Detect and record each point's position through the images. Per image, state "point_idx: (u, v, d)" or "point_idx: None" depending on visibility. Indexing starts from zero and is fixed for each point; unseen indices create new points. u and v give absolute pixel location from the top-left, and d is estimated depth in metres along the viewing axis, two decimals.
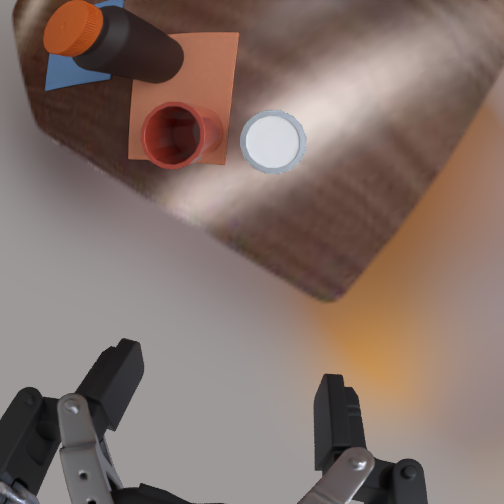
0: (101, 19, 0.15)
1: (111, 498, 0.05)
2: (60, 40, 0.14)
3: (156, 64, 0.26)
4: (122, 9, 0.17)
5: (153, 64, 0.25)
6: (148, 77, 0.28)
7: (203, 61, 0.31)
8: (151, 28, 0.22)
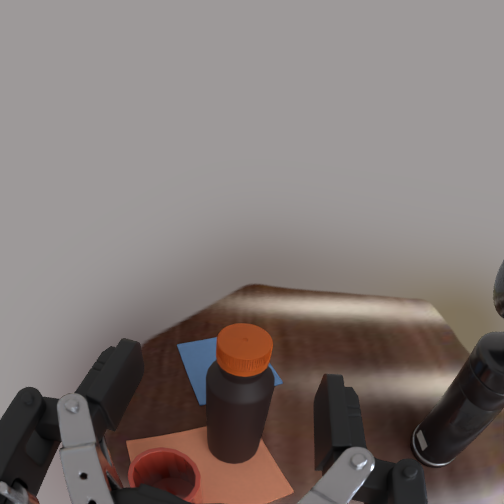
0: (258, 372, 0.24)
1: (111, 498, 0.05)
2: (230, 342, 0.24)
3: (228, 441, 0.27)
4: (272, 386, 0.26)
5: (227, 438, 0.27)
6: (213, 438, 0.29)
7: (248, 479, 0.29)
8: (262, 421, 0.28)
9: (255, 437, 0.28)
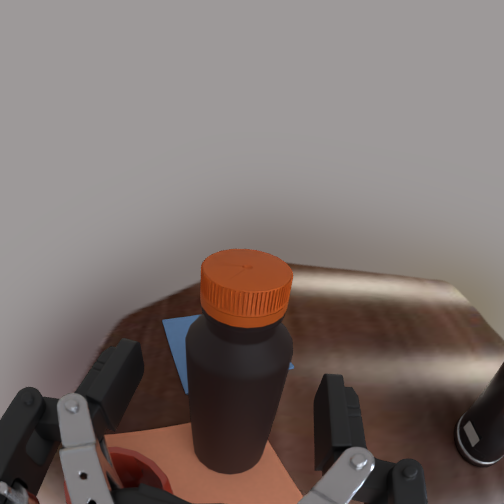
0: (270, 321, 0.15)
1: (111, 498, 0.05)
2: (224, 269, 0.15)
3: (220, 443, 0.18)
4: (291, 353, 0.17)
5: (219, 438, 0.18)
6: (198, 438, 0.20)
7: (249, 496, 0.19)
8: (272, 411, 0.18)
9: (261, 437, 0.19)
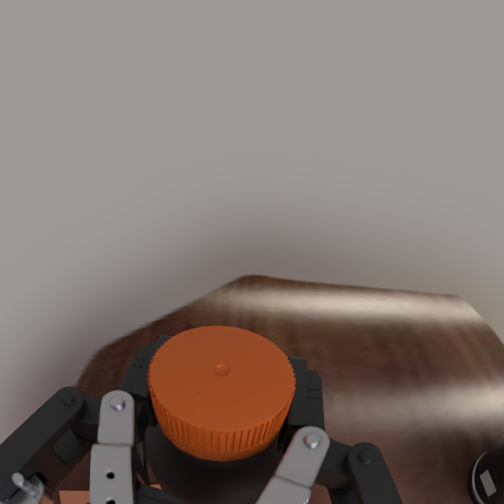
0: (257, 451, 0.08)
1: (111, 498, 0.05)
2: (182, 376, 0.09)
3: None
4: None
5: None
6: None
7: None
8: None
9: None
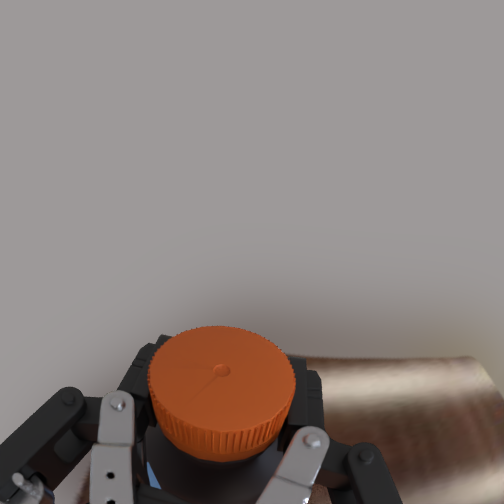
0: (257, 451, 0.08)
1: (111, 498, 0.05)
2: (182, 377, 0.09)
3: None
4: None
5: None
6: None
7: None
8: None
9: None
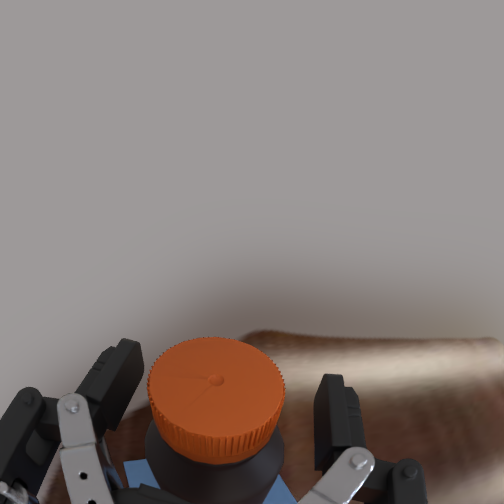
0: (248, 455, 0.09)
1: (111, 498, 0.05)
2: (179, 385, 0.09)
3: None
4: (280, 465, 0.11)
5: None
6: None
7: None
8: None
9: None
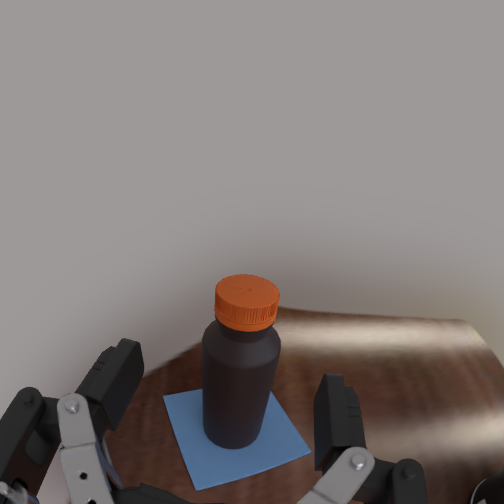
0: (263, 327, 0.22)
1: (111, 498, 0.05)
2: (231, 291, 0.22)
3: (226, 419, 0.25)
4: (278, 349, 0.24)
5: (225, 415, 0.25)
6: (209, 417, 0.26)
7: None
8: (266, 394, 0.25)
9: (257, 415, 0.26)
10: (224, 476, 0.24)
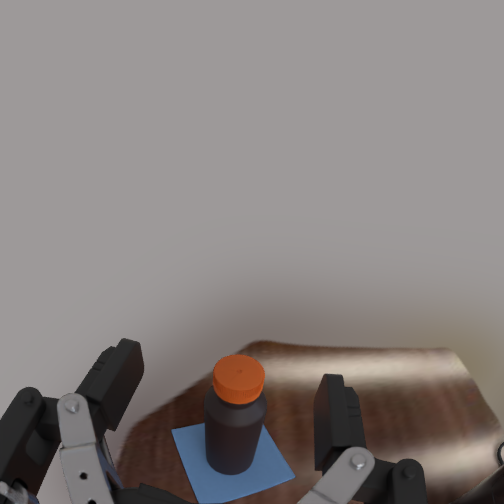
0: (251, 400, 0.26)
1: (111, 498, 0.05)
2: (226, 374, 0.26)
3: (224, 456, 0.29)
4: (265, 410, 0.28)
5: (223, 454, 0.29)
6: (210, 453, 0.30)
7: None
8: (256, 439, 0.29)
9: (249, 453, 0.30)
10: (223, 497, 0.29)
